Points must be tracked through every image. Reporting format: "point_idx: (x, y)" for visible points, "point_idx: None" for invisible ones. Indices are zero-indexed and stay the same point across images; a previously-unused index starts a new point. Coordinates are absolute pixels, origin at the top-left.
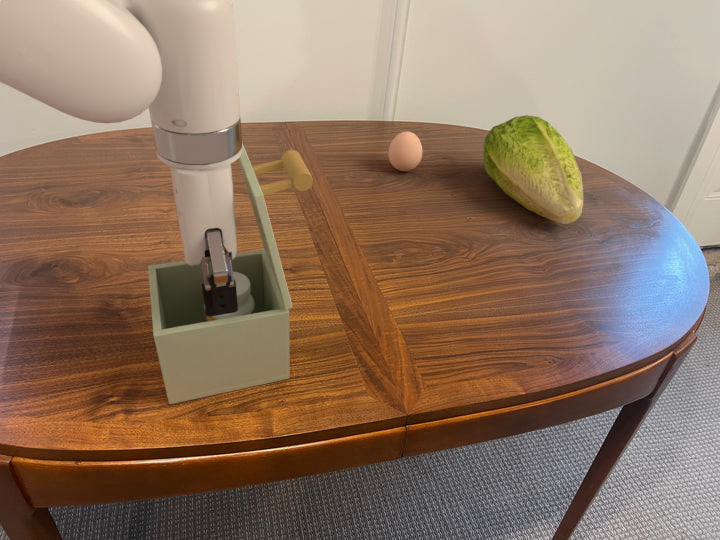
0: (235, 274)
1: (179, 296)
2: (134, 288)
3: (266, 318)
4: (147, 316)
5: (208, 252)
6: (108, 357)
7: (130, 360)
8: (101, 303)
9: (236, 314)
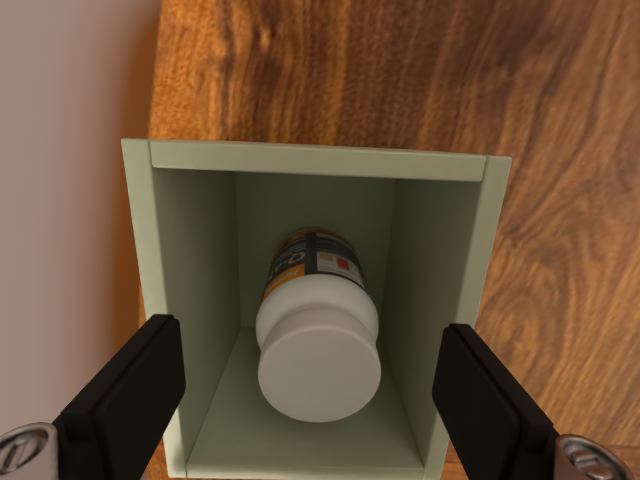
0: (357, 398)
1: (422, 212)
2: (571, 105)
3: None
4: (468, 124)
5: (450, 380)
6: (378, 33)
7: (355, 79)
8: (556, 24)
9: (259, 343)
